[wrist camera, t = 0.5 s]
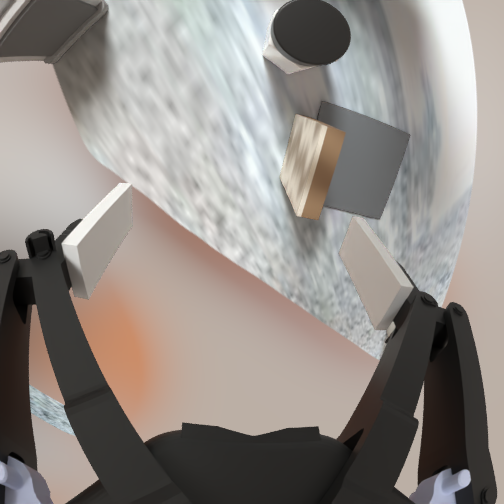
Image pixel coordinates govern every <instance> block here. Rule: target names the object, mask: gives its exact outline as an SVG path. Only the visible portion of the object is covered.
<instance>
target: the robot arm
mask: <svg viewBox="0 0 504 504" xmlns="http://www.w3.org/2000/svg"><path fill="white" fill-rule="evenodd" d="M132 226H133V224H132V184H127V183H126V184H125V183H119V184H118V186H116V187H115V188H114V189H113V190H112V191H111V192H110V193H109V194H108V195H107V196H106V197H105V198H104V199H103V200H102V201H101V202H100V203H99V204H98V205H97V206H96V207H95V208H94V209H93V210H92V211H91V212H90V213H89V214H88V215H87V216H86V217H85V218H84V219H78V220H76V221H75V222H73V223H71V224H70V225H69V226H68V227H67V228H66V230H65V231H64V232H63V233H62V235H60V236H59V237H58V238H57V239H56V240H54V235H53V232H52V231H50V230H48V229H42V230H37V231H35V232H33V233H31V234H30V235H28V237H27V238H26V241H25V243H26V247H27V251H28V255H29V258H30V259H18V256H17V253H16V252H15V251H14V250H6V251H2V252H1V253H0V504H53V502H52V500H51V498H50V491H49V488H48V486H47V483H46V481H45V479H44V478H43V477H42V475H41V474H40V473H38V472H37V457H36V449H35V442H34V436H33V428H32V419H31V409H30V395H29V336H30V323H31V312H32V305H33V304H36V305H37V309H38V315H39V319H40V323H41V328H42V332H43V336H44V340H45V344H46V347H47V351H48V354H49V358H50V361H51V364H52V367H53V370H54V373H55V376H56V379H57V382H58V385H59V388H60V390H61V393H62V396H63V398H64V401H65V405H64V409H65V412H66V415H67V418H68V420H69V422H70V424H71V427H72V429H73V431H74V433H75V435H76V437H77V439H78V441H79V443H80V445H81V447H82V449H83V451H84V453H85V455H86V457H87V458H88V461H89V462H90V464H91V466H92V467H93V469H94V471H95V472H96V474H97V476H98V478H99V480H97V481H96V482H95V483H93V484H92V485H91V486H89V487H88V488H87V489H85V490H84V491H83V492H81V493H80V494H78V495H77V496H76V497H74V498H73V499H71V500H70V501H68V502H67V503H66V504H495V502H496V499H497V487H496V481H495V476H494V470H493V465H492V461H491V457H490V452H489V449H488V426H487V414H486V405H485V396H484V388H483V382H482V376H481V370H480V365H479V360H478V355H477V351H476V346H475V342H474V338H473V334H472V330H471V326H470V322H469V319H468V315H467V313H466V311H465V310H464V308H463V307H461V305H459V304H457V303H454V302H451V303H450V304H449V305H448V306H447V308H446V309H444V308H441V307H438V303H437V302H436V300H435V299H434V298H433V297H432V296H431V295H429V294H427V293H425V292H420V291H419V290H418V288H417V287H416V285H415V284H414V282H413V281H412V280H411V278H410V277H409V275H408V274H407V273H406V271H405V269H404V268H403V267H402V266H401V265H400V264H399V263H398V262H397V261H396V260H395V259H394V258H393V257H392V255H391V254H390V252H389V251H388V250H387V248H386V247H385V246H384V244H383V243H382V242H381V240H380V239H379V238H378V236H377V235H376V234H375V232H374V231H373V230H372V229H371V227H370V226H369V225H368V224H367V222H366V221H365V220H364V218H360V217H355V216H353V217H352V219H351V222H350V225H349V228H348V230H347V233H346V236H345V238H344V241H343V244H342V246H341V249H340V251H339V255H340V257H341V259H342V261H343V263H344V265H345V267H346V269H347V271H348V273H349V275H350V277H351V279H352V281H353V284H354V286H355V288H356V290H357V292H358V294H359V296H360V298H361V301H362V303H363V305H364V307H365V309H366V312H367V314H368V316H369V318H370V320H371V323H372V325H373V327H374V330H387V329H388V328H389V326H390V325H391V323H392V322H394V324H395V326H396V327H395V329H394V330H393V332H392V333H391V334H390V336H389V337H388V339H387V340H386V341H385V343H387V342H388V343H387V346H386V348H385V350H384V353H383V355H382V357H381V359H380V362H379V364H378V366H377V368H376V370H375V372H374V375H373V377H372V379H371V381H370V383H369V385H368V387H367V389H366V391H365V393H364V395H363V396H362V398H361V400H360V402H359V404H358V406H357V408H356V410H355V411H354V413H353V415H352V416H351V418H350V420H349V422H348V424H347V425H346V427H345V429H344V430H343V432H342V433H341V435H340V436H339V437H338V438H337V439H333V438H331V437H328V436H325V435H321V434H320V433H319V428H318V427H302V428H286V429H282V430H279V431H274V432H270V433H266V434H262V435H258V436H250V435H246V434H243V433H239V432H235V431H232V430H228V429H225V428H221V427H218V426H209V425H199V424H190V423H182V430H177V431H171V432H167V433H163V434H160V435H158V436H155V437H153V438H151V439H149V440H148V441H146V442H145V443H143V441H142V439H141V438H140V436H139V435H138V433H137V432H136V430H135V429H134V427H133V426H132V424H131V423H130V421H129V420H128V418H127V416H126V414H125V413H124V411H123V409H122V408H121V406H120V405H119V403H118V401H117V399H116V397H115V395H114V394H113V392H112V390H111V388H110V387H109V385H108V384H107V382H106V380H105V378H104V376H103V374H102V372H101V370H100V368H99V366H98V364H97V361H96V359H95V357H94V355H93V353H92V351H91V348H90V346H89V344H88V341H87V339H86V337H85V334H84V332H83V329H82V327H81V324H80V322H79V319H78V317H77V314H76V311H75V309H74V306H73V303H72V301H71V297H70V294H69V290H70V288H71V287H72V290H73V293H74V296H75V297H79V298H84V299H89V298H90V296H91V294H92V292H93V290H94V289H95V287H96V285H97V283H98V282H99V280H100V278H101V276H102V275H103V273H104V271H105V269H106V268H107V266H108V264H109V263H110V261H111V259H112V258H113V256H114V255H115V253H116V251H117V250H118V248H119V246H120V245H121V243H122V242H123V240H124V239H125V237H126V235H127V234H128V232H129V231H130V229H131V227H132ZM423 382H424V411H423V427H422V438H421V448H420V456H419V465H418V487H417V489H416V492H414V493H412V494H411V495H410V497H409V498H408V497H406V496H405V495H404V494H402V493H401V492H400V491H399V490H397V489H396V488H395V487H394V486H395V484H396V482H397V479H398V477H399V475H400V472H401V470H402V468H403V466H404V463H405V461H406V458H407V456H408V453H409V451H410V448H411V445H412V443H413V440H414V437H415V434H416V431H417V428H418V423H419V422H418V420H417V419H416V418H414V417H413V416H414V412H415V409H416V406H417V403H418V400H419V396H420V392H421V389H422V385H423Z"/></svg>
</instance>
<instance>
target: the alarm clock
mask: <svg viewBox="0 0 504 504" xmlns="http://www.w3.org/2000/svg"><path fill="white" fill-rule="evenodd" d="M107 10H108V5H107V3H106V2H105V1H104V0H0V62H12V61H44V62H45V63H48V64H53V63H56V62H57V61H58V60H59V59H60V58H61V57H62V56H63V54H64V53H65V52H66V51H67V50H68V49H69V48H70V47H71V46H72V45H73V44H74V43H75V42H76V41H77V40H78V39H79V38H80V37H81V36H82V35H83V34H84V33H85V32H86V31H87V30H88V29H89V28H90V27H91V26H92V25H93V24H94V23H95V22H97V21H98V20H99V19H100V18H101V17H102V16H103V15H104V14H106V12H107Z"/></svg>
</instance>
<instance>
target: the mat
mask: <svg viewBox="0 0 504 504" xmlns="http://www.w3.org/2000/svg"><path fill="white" fill-rule="evenodd" d="M317 120H318V121H320V122H323V123H325V124H328V125H330V126H332V127H335V128H337V129H339V130H342V131H344V132H346V134H345V137H344V141H343V144H342V148H341V151H340V154H339V158H338V161H337V164H336V167H335V170H334V174H333V177H332V180H331V183H330V186H329V189H328V192H327V195H326V198H325V201H324V204H323V206H327V207H331V208H336V209H340V210H344V211H348V212H353V213H357V214H361V215H365V216H369V217H373V218H377V219H380V218H381V215H382V213H383V211H384V208H385V206H386V203H387V200H388V198H389V195H390V193H391V190H392V187H393V185H394V182H395V179H396V176H397V174H398V171H399V168H400V165H401V162H402V159H403V156H404V153H405V150H406V147H407V144H408V141H409V138H410V134H408V133H405V132H403V131H401V130H399V129H397V128H394V127H392V126H390V125H387V124H385V123H382V122H380V121H378V120H375V119H373V118H370V117H367V116H365V115H362V114H360V113H357V112H354V111H351V110H348V109H346V108H343V107H340V106H337V105H334V104H331V103H327V102H324V101H322V103H321V107H320V110H319V114H318V118H317Z"/></svg>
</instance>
